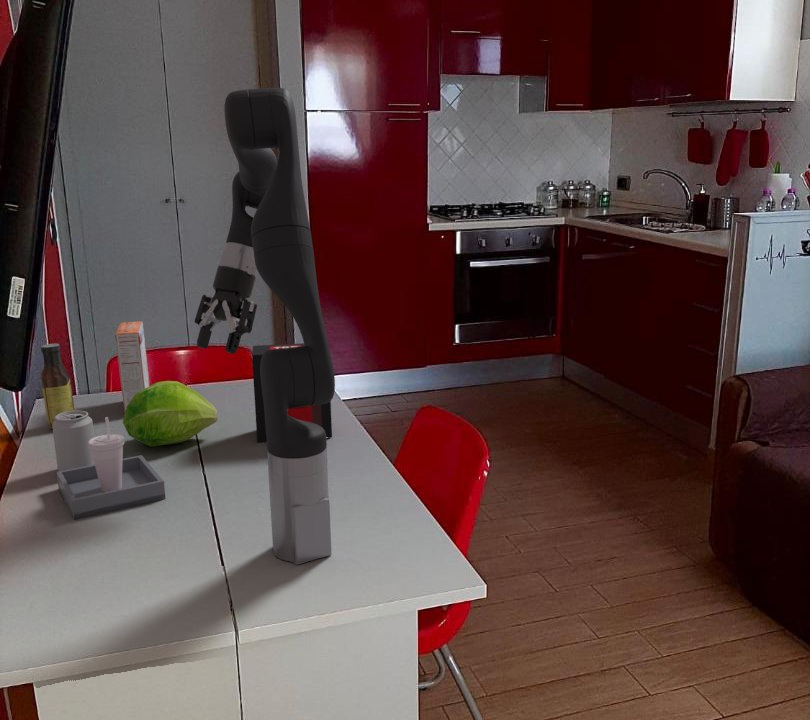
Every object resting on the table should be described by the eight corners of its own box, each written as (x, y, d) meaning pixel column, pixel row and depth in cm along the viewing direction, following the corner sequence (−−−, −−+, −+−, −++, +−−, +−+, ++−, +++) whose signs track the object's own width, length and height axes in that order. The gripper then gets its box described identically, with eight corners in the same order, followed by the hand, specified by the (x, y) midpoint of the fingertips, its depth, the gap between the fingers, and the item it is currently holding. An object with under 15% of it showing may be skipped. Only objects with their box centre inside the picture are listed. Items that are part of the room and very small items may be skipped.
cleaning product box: (329, 425, 190) (326, 342, 185) (332, 437, 181) (328, 351, 176) (258, 429, 187) (253, 345, 182) (257, 442, 179) (251, 355, 174)
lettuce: (220, 449, 175) (216, 389, 172) (122, 459, 170) (116, 397, 167) (217, 426, 189) (213, 371, 186) (127, 435, 184) (121, 378, 181)
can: (84, 478, 160) (77, 421, 157) (50, 476, 161) (42, 419, 158) (105, 464, 167) (98, 409, 164) (72, 462, 168) (65, 407, 165)
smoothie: (122, 494, 149) (114, 422, 146) (87, 495, 149) (79, 423, 146) (134, 481, 155) (126, 411, 152) (100, 481, 156) (92, 412, 152)
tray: (165, 498, 150) (163, 481, 149) (74, 519, 142) (72, 501, 141) (143, 471, 163) (141, 455, 162) (58, 488, 155) (56, 471, 154)
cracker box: (127, 400, 211) (119, 321, 206) (151, 398, 213) (144, 320, 207) (122, 416, 198) (113, 333, 193) (148, 414, 199) (140, 331, 194)
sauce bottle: (82, 425, 191) (72, 344, 187) (58, 433, 186) (48, 349, 181) (65, 421, 195) (55, 341, 190) (41, 428, 190) (30, 346, 185)
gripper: (199, 262, 159) (177, 341, 157) (247, 265, 150) (225, 349, 148) (227, 274, 165) (207, 350, 163) (275, 278, 156) (254, 359, 154)
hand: (215, 350), depth 156 cm, fingers open, 8 cm apart
